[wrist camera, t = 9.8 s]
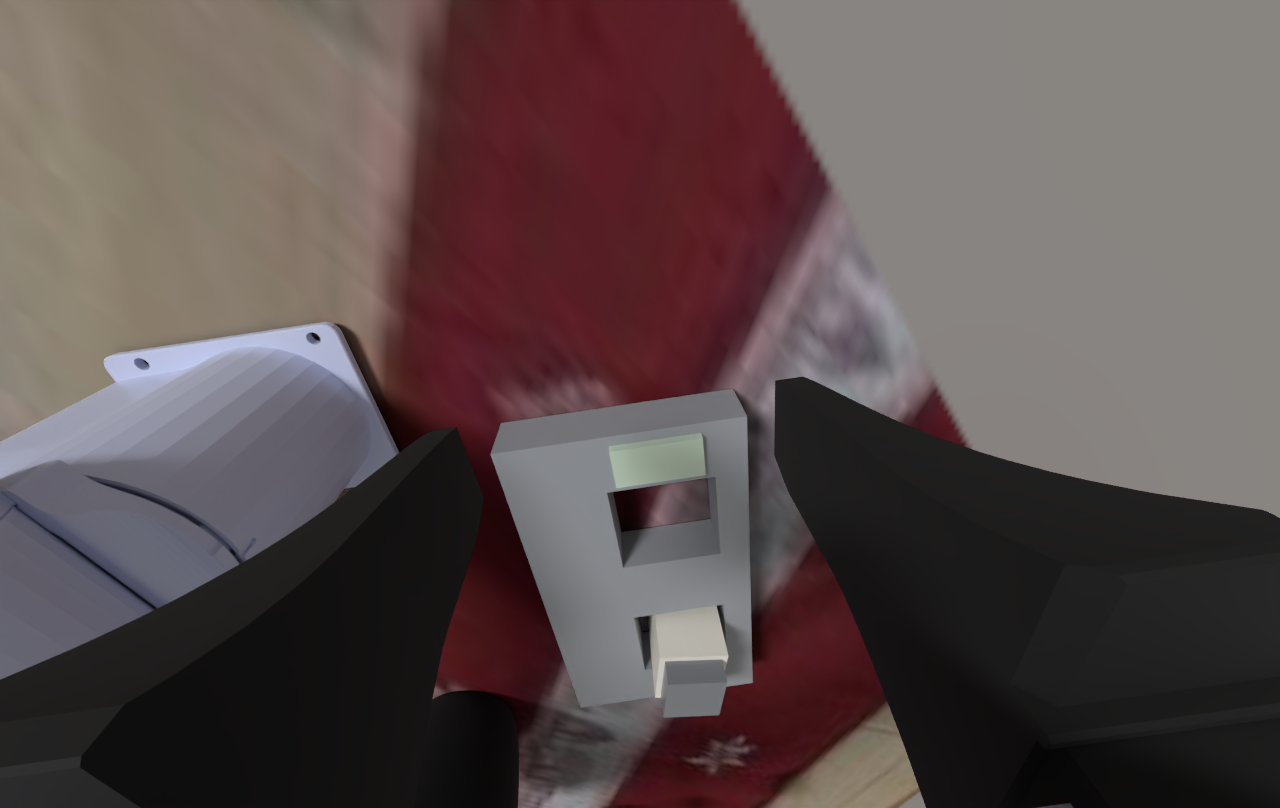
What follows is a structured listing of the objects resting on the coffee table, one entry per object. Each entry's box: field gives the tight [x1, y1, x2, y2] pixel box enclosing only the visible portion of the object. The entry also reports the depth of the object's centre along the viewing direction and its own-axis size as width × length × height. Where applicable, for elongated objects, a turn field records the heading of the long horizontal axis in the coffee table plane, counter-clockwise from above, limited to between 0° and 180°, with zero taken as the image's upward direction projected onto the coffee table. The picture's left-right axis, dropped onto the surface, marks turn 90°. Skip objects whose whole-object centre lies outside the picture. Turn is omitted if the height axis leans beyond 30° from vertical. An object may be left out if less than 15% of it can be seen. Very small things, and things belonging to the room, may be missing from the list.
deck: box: [491, 389, 753, 708], centre depth 26 cm, size 11×20×3 cm, turn 7°
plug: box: [648, 606, 728, 718], centre depth 27 cm, size 4×4×6 cm
